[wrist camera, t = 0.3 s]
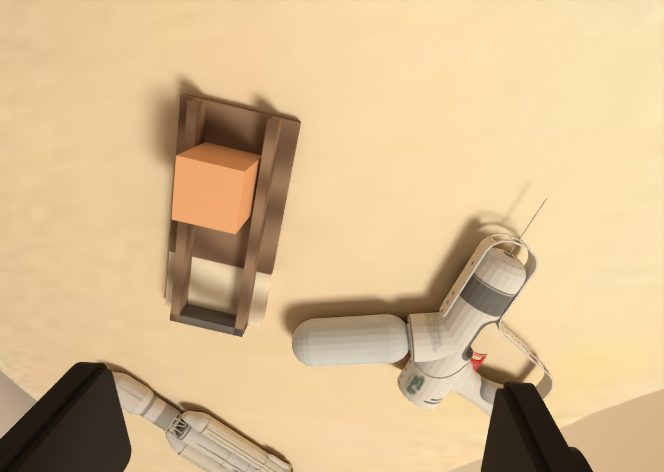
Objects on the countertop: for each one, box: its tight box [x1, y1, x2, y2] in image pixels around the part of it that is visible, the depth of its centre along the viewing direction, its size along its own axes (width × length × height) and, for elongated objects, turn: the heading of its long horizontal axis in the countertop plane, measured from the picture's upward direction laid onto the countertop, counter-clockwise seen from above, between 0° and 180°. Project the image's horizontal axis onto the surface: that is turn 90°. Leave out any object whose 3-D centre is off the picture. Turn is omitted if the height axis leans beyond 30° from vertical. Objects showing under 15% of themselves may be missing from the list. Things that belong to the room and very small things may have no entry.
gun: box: [292, 200, 554, 417], centre depth 45 cm, size 6×29×30 cm
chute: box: [165, 94, 301, 337], centre depth 44 cm, size 25×12×4 cm, turn 167°
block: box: [172, 142, 262, 234], centre depth 39 cm, size 6×6×7 cm
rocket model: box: [112, 372, 293, 472], centre depth 57 cm, size 9×4×30 cm
